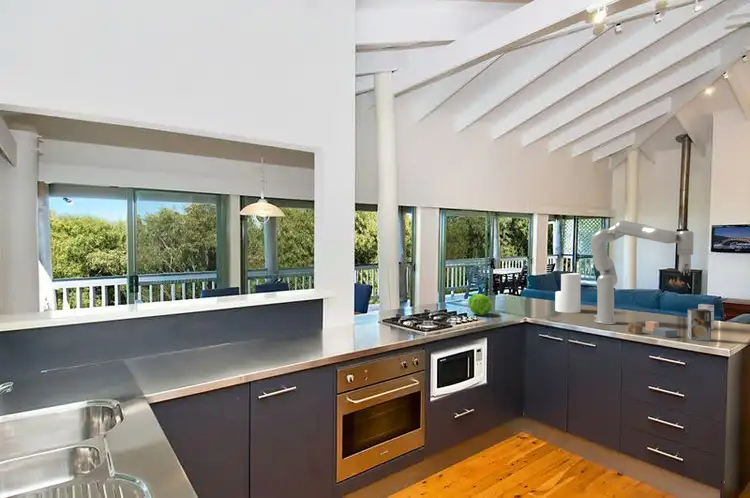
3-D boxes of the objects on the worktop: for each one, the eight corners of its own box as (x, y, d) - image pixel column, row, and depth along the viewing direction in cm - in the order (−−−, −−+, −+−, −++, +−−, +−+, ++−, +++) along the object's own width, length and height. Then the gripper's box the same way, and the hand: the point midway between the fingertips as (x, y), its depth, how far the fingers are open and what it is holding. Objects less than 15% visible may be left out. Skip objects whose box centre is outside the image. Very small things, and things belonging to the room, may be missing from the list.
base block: (653, 335, 251) (653, 328, 251) (664, 334, 253) (664, 327, 253) (665, 338, 243) (665, 330, 243) (677, 337, 245) (677, 330, 245)
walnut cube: (628, 332, 257) (628, 323, 257) (635, 331, 258) (635, 323, 258) (635, 334, 252) (635, 325, 252) (642, 333, 254) (642, 324, 253)
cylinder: (585, 311, 329) (585, 273, 328) (571, 313, 319) (572, 274, 318) (563, 308, 343) (564, 272, 342) (550, 310, 333) (550, 273, 333)
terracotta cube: (645, 330, 263) (645, 321, 263) (650, 329, 265) (650, 320, 265) (654, 331, 258) (654, 323, 258) (659, 330, 261) (659, 322, 261)
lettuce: (492, 316, 323) (494, 295, 324) (488, 318, 305) (491, 296, 305) (469, 312, 329) (471, 292, 330) (464, 314, 311) (467, 292, 311)
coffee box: (707, 338, 240) (707, 309, 240) (711, 341, 234) (711, 311, 234) (687, 337, 243) (687, 308, 243) (690, 339, 237) (691, 310, 237)
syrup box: (714, 329, 264) (714, 304, 264) (706, 329, 263) (707, 305, 262) (704, 327, 270) (705, 303, 269) (697, 327, 268) (697, 303, 268)
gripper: (675, 251, 267) (675, 279, 267) (679, 252, 252) (679, 282, 252) (690, 251, 263) (690, 280, 264) (695, 252, 248) (695, 283, 249)
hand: (684, 281), depth 258 cm, fingers open, 9 cm apart
